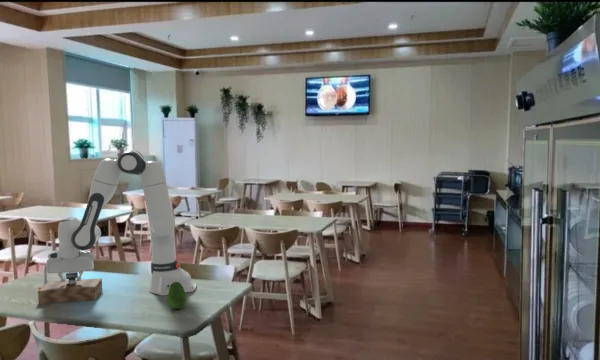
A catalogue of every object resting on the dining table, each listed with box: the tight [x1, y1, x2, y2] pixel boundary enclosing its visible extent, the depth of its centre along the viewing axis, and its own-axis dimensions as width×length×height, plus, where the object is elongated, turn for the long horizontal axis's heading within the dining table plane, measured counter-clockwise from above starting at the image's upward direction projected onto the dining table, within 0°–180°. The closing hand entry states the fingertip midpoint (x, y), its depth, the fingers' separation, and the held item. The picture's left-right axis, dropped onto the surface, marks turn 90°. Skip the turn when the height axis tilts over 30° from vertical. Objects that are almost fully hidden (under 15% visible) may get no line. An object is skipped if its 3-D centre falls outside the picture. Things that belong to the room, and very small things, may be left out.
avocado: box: [167, 282, 187, 310], centre depth 199 cm, size 8×8×12 cm
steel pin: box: [65, 272, 79, 286], centre depth 215 cm, size 5×5×8 cm
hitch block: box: [37, 278, 103, 305], centre depth 216 cm, size 24×14×6 cm, turn 101°
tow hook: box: [38, 264, 48, 290], centre depth 229 cm, size 8×13×9 cm
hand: (71, 281), depth 215 cm, fingers open, 5 cm apart
